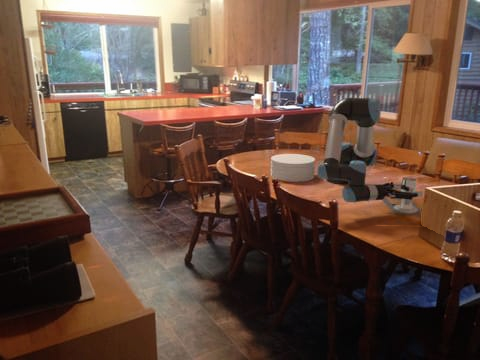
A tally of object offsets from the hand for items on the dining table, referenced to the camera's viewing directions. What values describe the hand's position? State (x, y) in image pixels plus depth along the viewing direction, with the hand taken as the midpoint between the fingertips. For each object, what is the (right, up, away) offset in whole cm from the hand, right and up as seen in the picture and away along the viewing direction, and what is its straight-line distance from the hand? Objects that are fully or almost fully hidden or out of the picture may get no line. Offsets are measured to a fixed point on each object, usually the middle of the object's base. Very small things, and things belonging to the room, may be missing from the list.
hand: (413, 189), depth 203 cm
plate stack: (-51, +7, +64) cm, 83 cm away
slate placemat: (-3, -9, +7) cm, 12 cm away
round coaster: (-3, -10, +2) cm, 11 cm away
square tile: (-3, -7, +13) cm, 15 cm away
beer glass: (-3, -9, +2) cm, 10 cm away
